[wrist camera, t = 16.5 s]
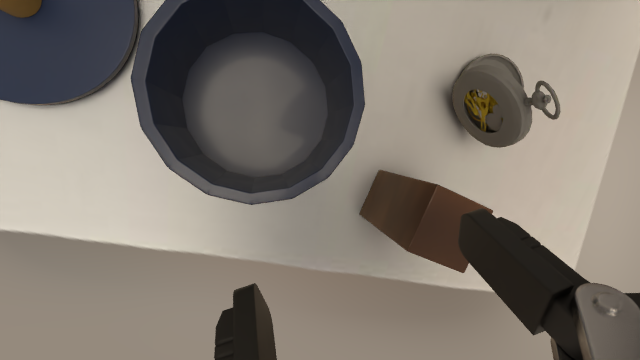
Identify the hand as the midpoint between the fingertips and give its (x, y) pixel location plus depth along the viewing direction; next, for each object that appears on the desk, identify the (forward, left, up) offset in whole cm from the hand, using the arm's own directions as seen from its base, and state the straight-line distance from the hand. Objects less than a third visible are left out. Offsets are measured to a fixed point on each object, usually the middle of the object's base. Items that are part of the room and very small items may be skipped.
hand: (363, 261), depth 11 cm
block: (-3, +7, -15) cm, 16 cm away
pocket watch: (-15, +9, -15) cm, 23 cm away
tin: (-4, -7, -15) cm, 17 cm away
